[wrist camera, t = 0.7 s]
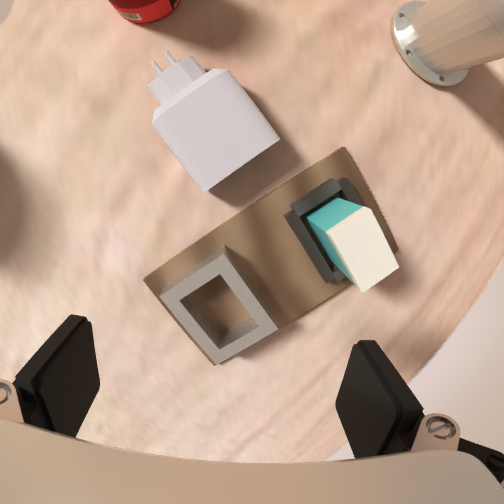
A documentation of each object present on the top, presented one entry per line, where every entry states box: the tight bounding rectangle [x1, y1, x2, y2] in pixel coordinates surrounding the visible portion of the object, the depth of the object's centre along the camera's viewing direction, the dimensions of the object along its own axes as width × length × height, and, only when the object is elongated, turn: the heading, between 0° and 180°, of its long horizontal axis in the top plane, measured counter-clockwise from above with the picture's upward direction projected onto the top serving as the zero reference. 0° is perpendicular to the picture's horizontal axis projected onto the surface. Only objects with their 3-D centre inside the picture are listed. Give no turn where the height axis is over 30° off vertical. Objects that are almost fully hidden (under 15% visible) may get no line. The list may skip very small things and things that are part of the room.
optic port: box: [159, 245, 278, 365], centre depth 35 cm, size 8×10×4 cm
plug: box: [304, 197, 399, 293], centre depth 31 cm, size 4×6×10 cm, turn 33°
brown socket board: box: [143, 147, 399, 366], centre depth 36 cm, size 27×14×3 cm, turn 123°
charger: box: [148, 52, 280, 193], centre depth 30 cm, size 5×9×15 cm
